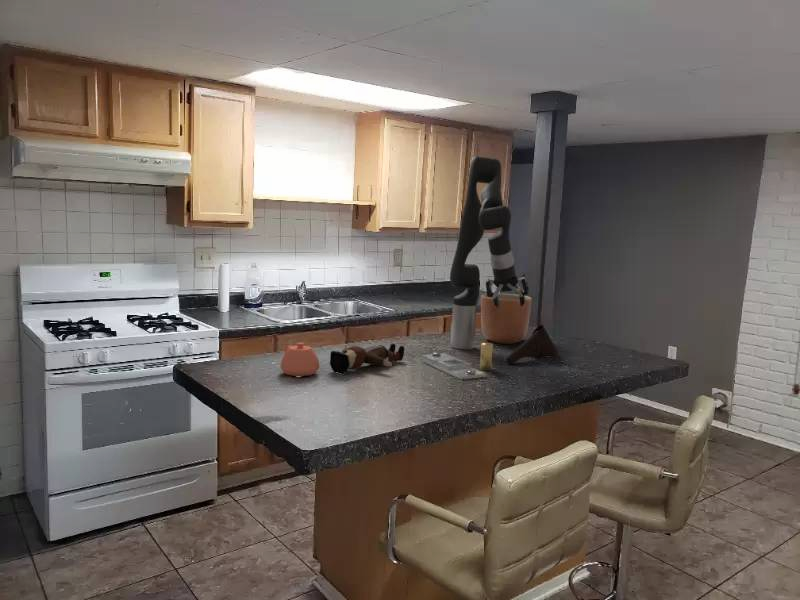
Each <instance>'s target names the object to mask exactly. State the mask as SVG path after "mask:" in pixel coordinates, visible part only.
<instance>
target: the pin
mask: <svg viewBox="0 0 800 600" xmlns="http://www.w3.org/2000/svg"><path fill="white" fill-rule="evenodd" d="M493 348H494V343H493V342H481V343H480V356H479V357H480V358H479V359H480V360H479V370H480V369H481V371H484V370H490V371H492V366H493V364H492V363H493V352H494V351H493Z"/></svg>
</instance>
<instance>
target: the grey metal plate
mask: <svg viewBox="0 0 800 600" xmlns="http://www.w3.org/2000/svg"><path fill="white" fill-rule="evenodd" d="M421 363H423V364H426V365H427V366H431V367H432V368H435V369H437V370H439V371H441V372H444V373H446V374H448V375H450V376H452V377H454V378H456V377H457V379H459V380H461V381H463V379H464V380H471V379H472V378H473V379H480V378H481V377H483V378H486V377H487V373H485V372H484V371H482V370H481V371H480V369H479V370H478V369H476V368H474V367H473V364H472V363H470V362H468V361H465V360H463V359H460V358H459V357H455V356H453V355H450V354H448V353H446V352H443V353H441V352H438V351H433V352H432V353H429V354H422V355H421Z"/></svg>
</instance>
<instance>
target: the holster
mask: <svg viewBox="0 0 800 600" xmlns="http://www.w3.org/2000/svg"><path fill="white" fill-rule="evenodd" d="M545 356H546V357H547V356H555V357H556V356H558V350H557V348H556V346H555V344H554V342H553V341H552V338H551V337H550V335H549V333H548V332H547V330H546V327H545V326H544V325H543V324H540V325H538V326H537V327H536V328H535V329H534V330H533V332H532V334H531V336H529V338H527V339H526V340H525V341H524V342H522V343H521V344H520V345H519V346H518V347H516V348H515V349H514V351H513V352H512V353H511V354H509V356H508V357H507V358H506V363H507V364H508V365H513V364H514V363H516V362H518V361H520V360H521V359H524V358H532V359H537V358H541V359H542V357H543V358H546V357H545ZM512 363H513V364H512Z"/></svg>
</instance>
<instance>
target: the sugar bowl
mask: <svg viewBox="0 0 800 600" xmlns="http://www.w3.org/2000/svg"><path fill="white" fill-rule="evenodd" d="M280 369H281V371H282V372H283V373H284V374H285V373H286V375H288V376H295V377H296V376H302V377H303V376H305V377H306V376H313V375H314V374H316V372H317V371H318V370H319V369H320V361H319V357H318V355H317V354H316V352H315V350H314V349H313V347H311V346H309V345H305V342H296V345H287V346H286V347H285V348H284V353H283V356H282V358H281V361H280ZM312 374H313V375H312Z"/></svg>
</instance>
